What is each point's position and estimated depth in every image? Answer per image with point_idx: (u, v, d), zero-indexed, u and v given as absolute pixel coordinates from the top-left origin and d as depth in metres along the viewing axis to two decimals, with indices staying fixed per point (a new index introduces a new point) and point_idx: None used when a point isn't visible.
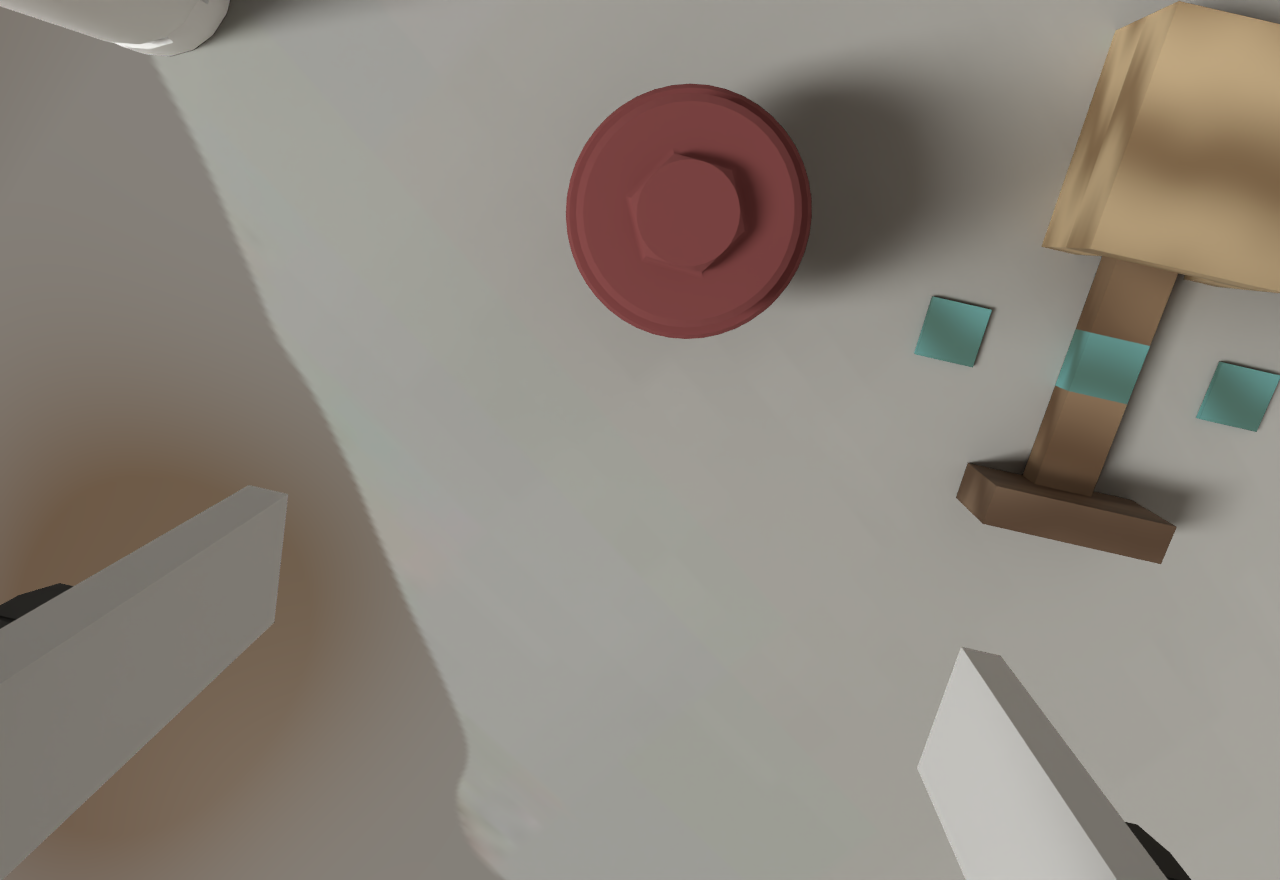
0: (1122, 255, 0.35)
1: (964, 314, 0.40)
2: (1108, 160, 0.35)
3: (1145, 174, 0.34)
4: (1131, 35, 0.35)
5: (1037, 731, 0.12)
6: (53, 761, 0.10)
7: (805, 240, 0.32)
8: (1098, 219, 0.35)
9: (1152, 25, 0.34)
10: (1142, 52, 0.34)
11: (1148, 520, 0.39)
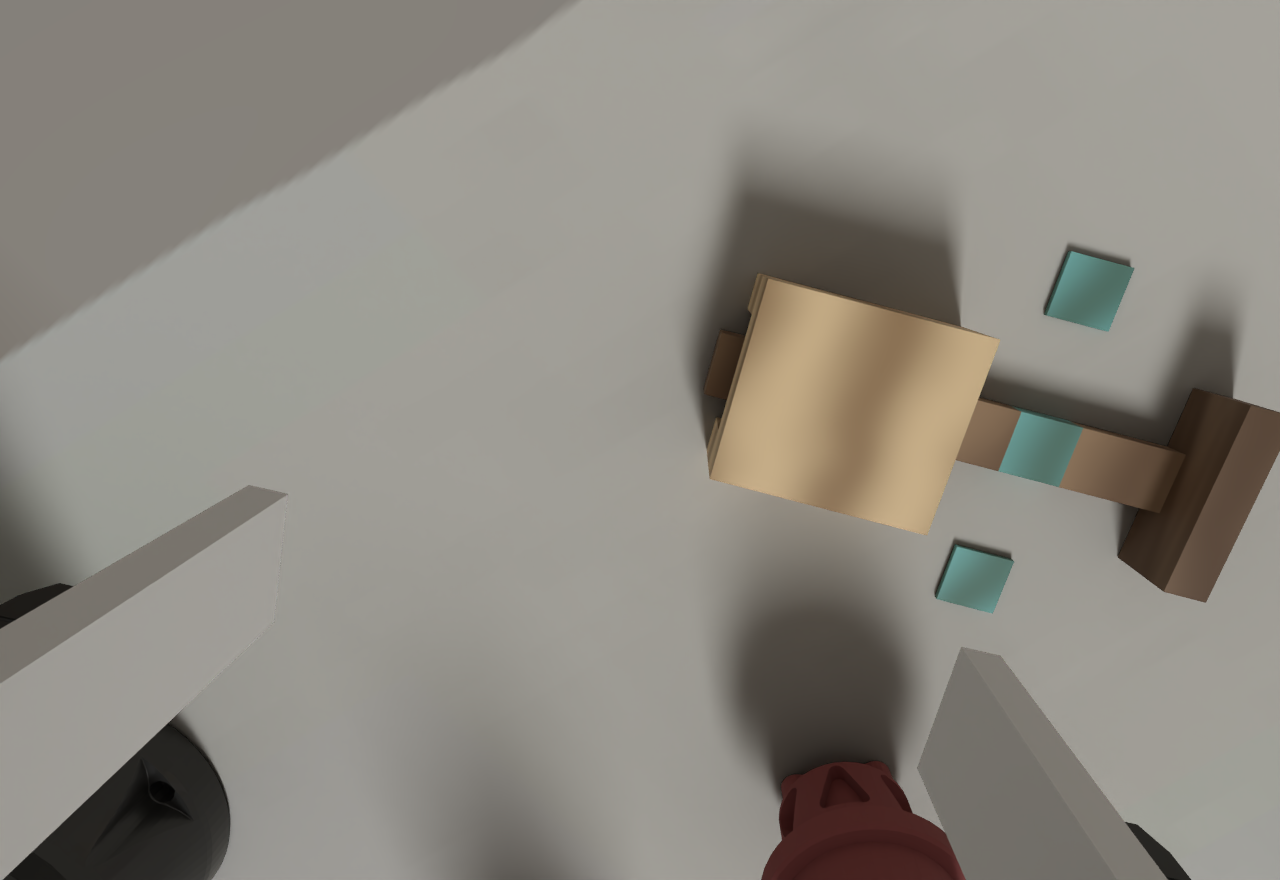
0: (937, 503, 0.35)
1: (958, 571, 0.41)
2: None
3: (861, 492, 0.35)
4: None
5: (1037, 731, 0.12)
6: (53, 761, 0.10)
7: (904, 830, 0.36)
8: None
9: None
10: None
11: (1236, 434, 0.35)
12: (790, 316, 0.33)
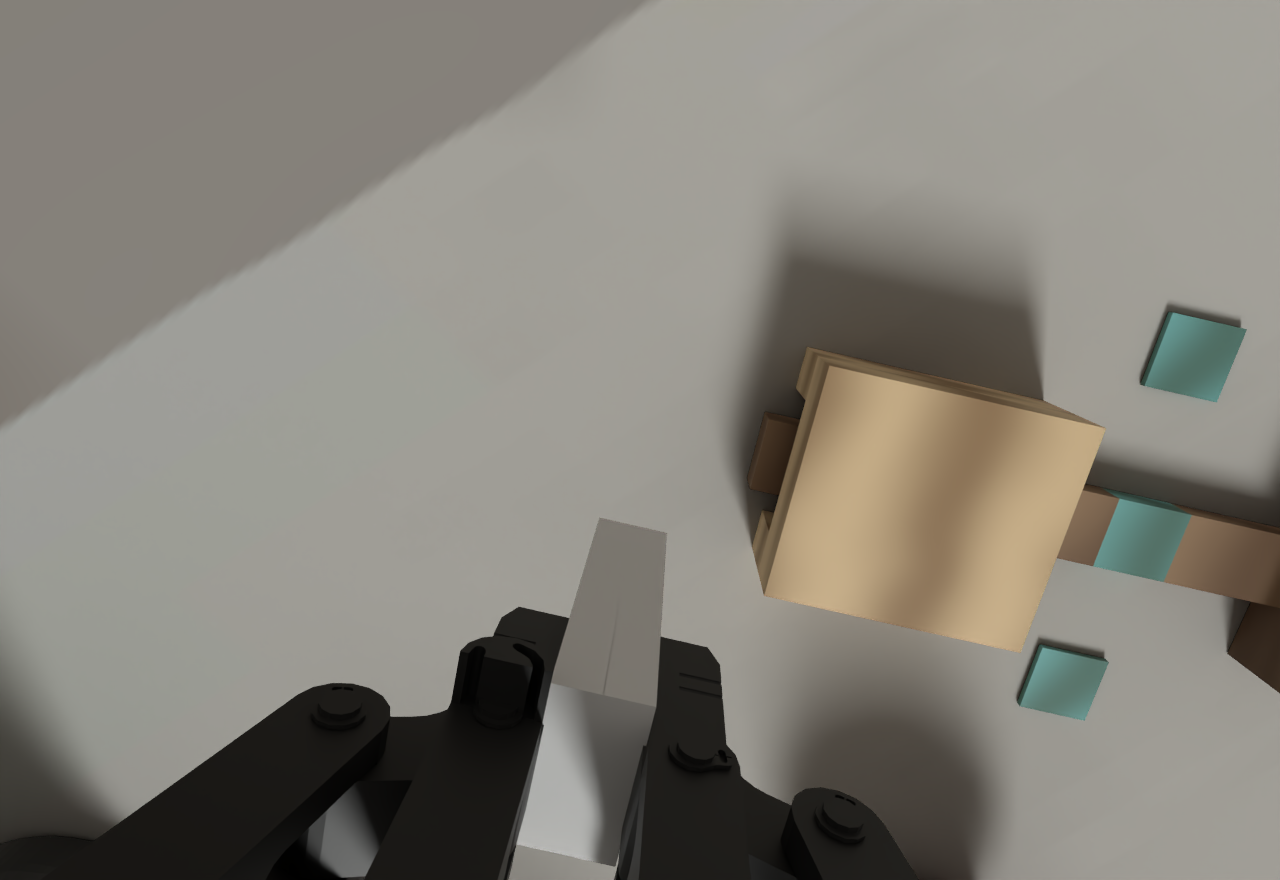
0: (1031, 616, 0.30)
1: (1044, 674, 0.35)
2: None
3: (943, 606, 0.30)
4: None
5: (643, 576, 0.15)
6: None
7: None
8: None
9: None
10: None
11: None
12: (857, 408, 0.28)
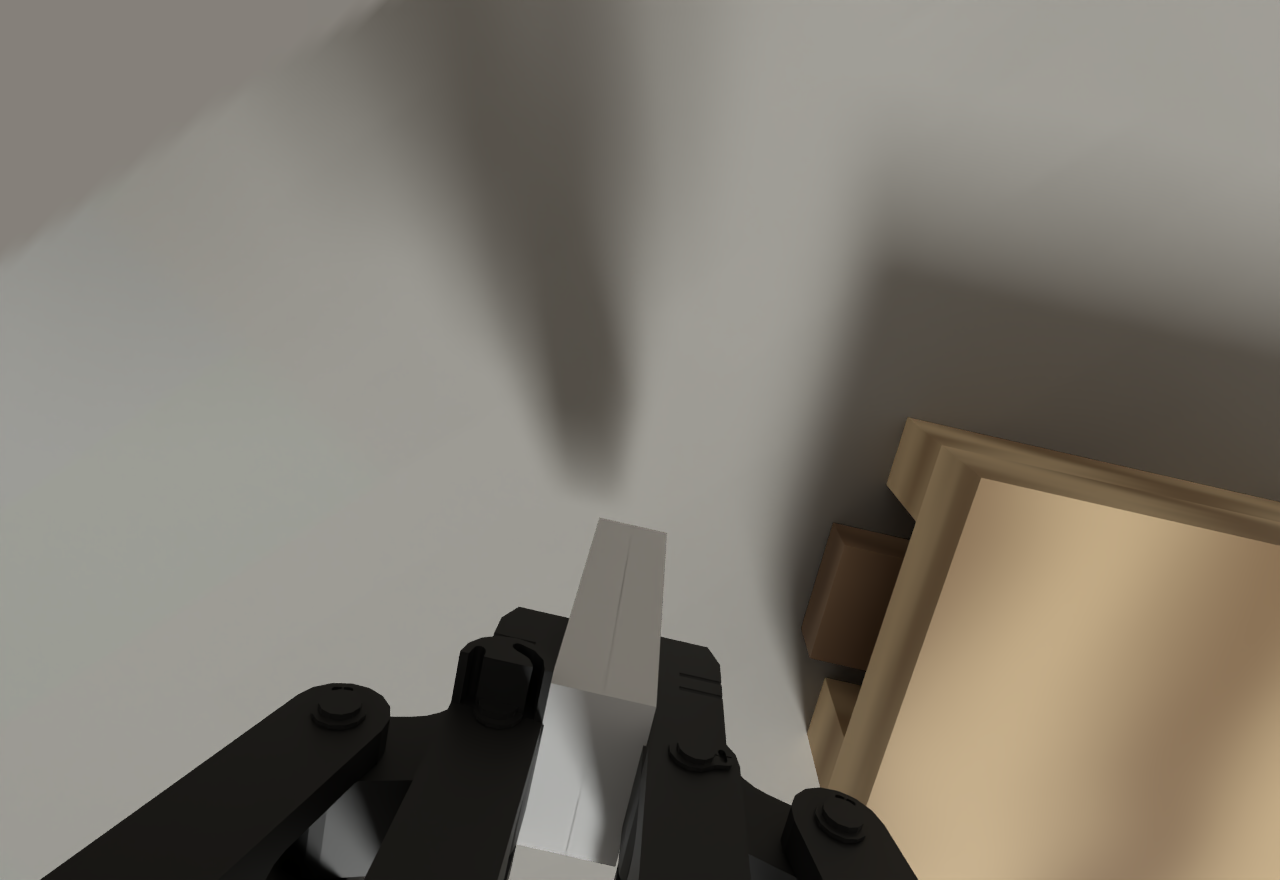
0: None
1: None
2: None
3: None
4: None
5: (643, 577, 0.15)
6: None
7: None
8: None
9: None
10: None
11: None
12: (1030, 556, 0.15)
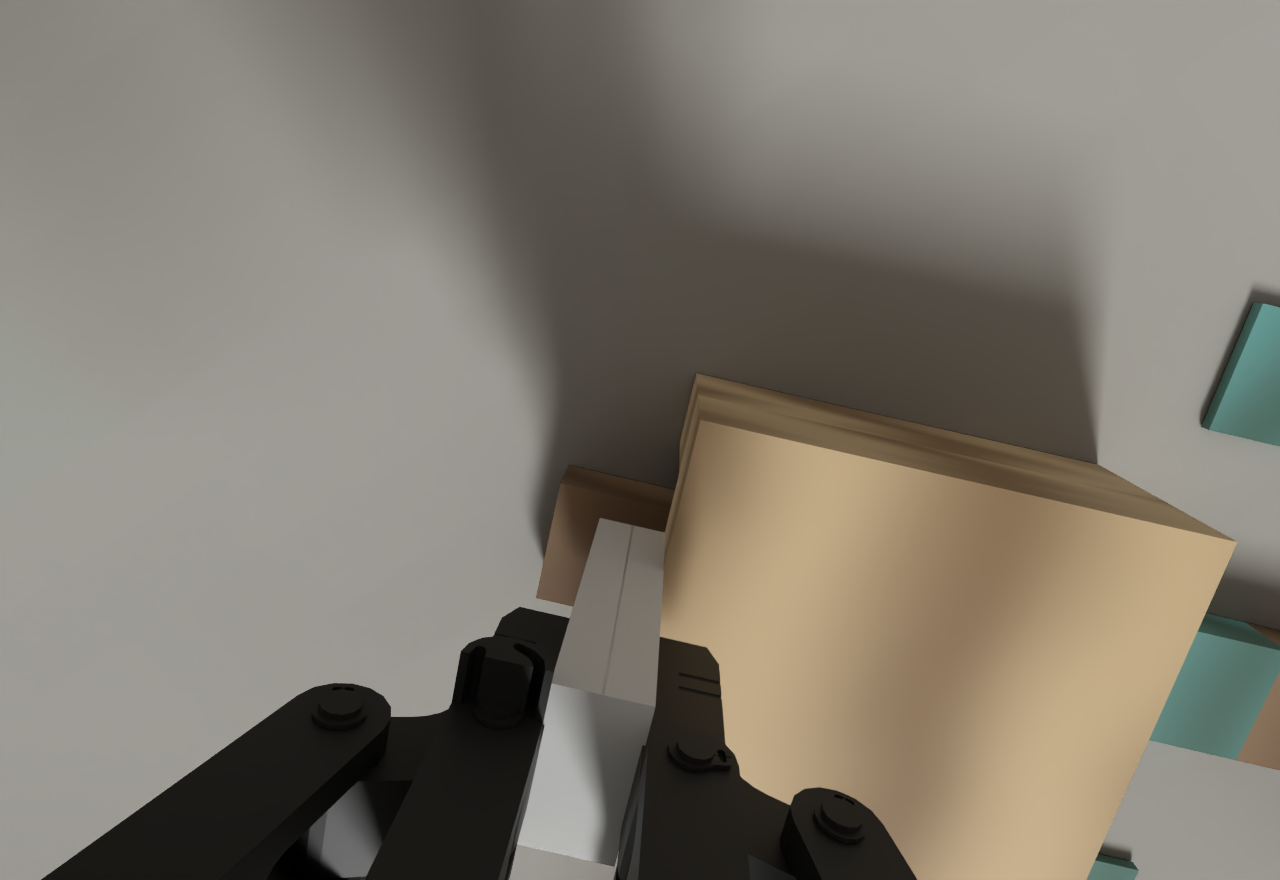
0: (1085, 869, 0.16)
1: None
2: None
3: (923, 851, 0.16)
4: None
5: (642, 576, 0.15)
6: None
7: None
8: None
9: None
10: None
11: None
12: (756, 500, 0.15)
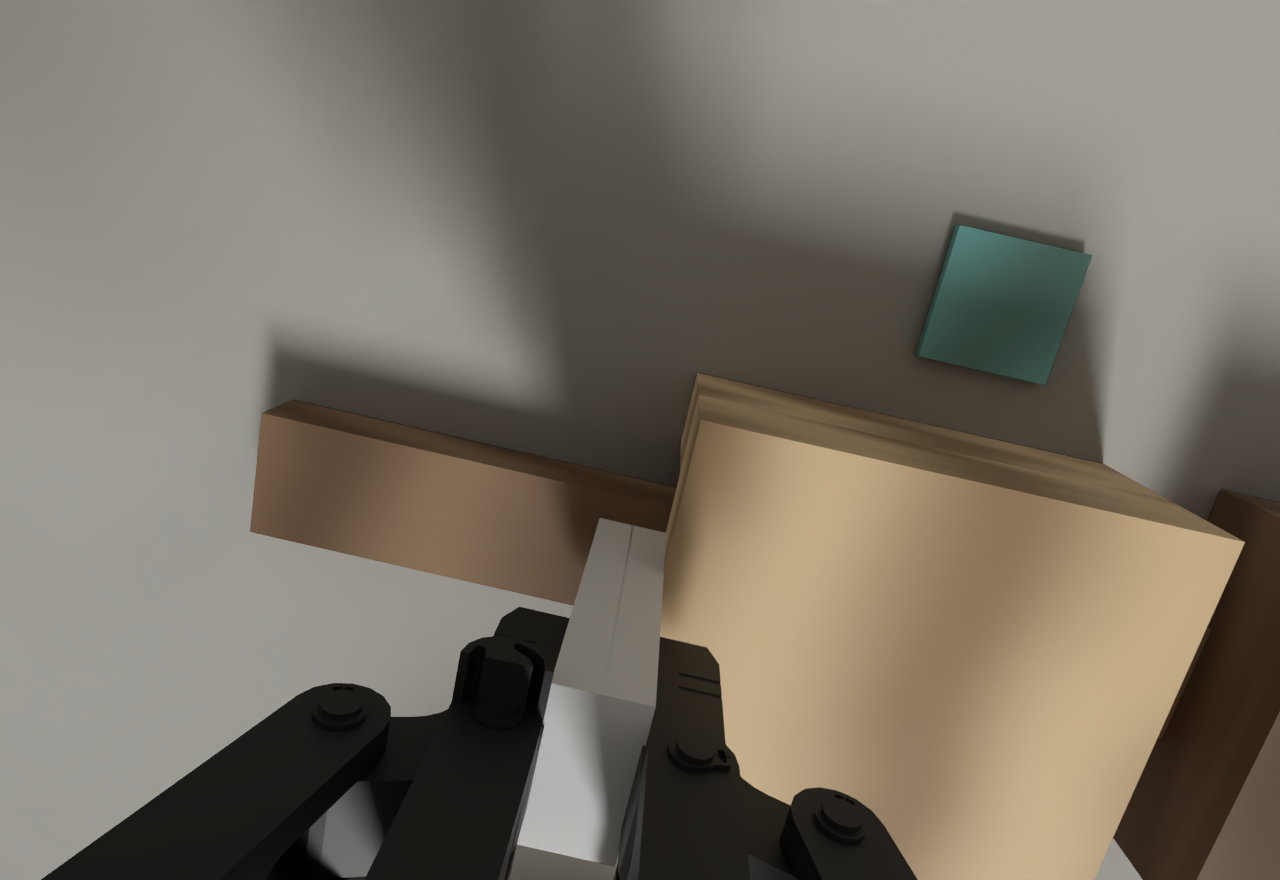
0: (1091, 873, 0.16)
1: None
2: None
3: (927, 854, 0.16)
4: None
5: (642, 576, 0.15)
6: None
7: None
8: None
9: None
10: None
11: None
12: (756, 501, 0.15)
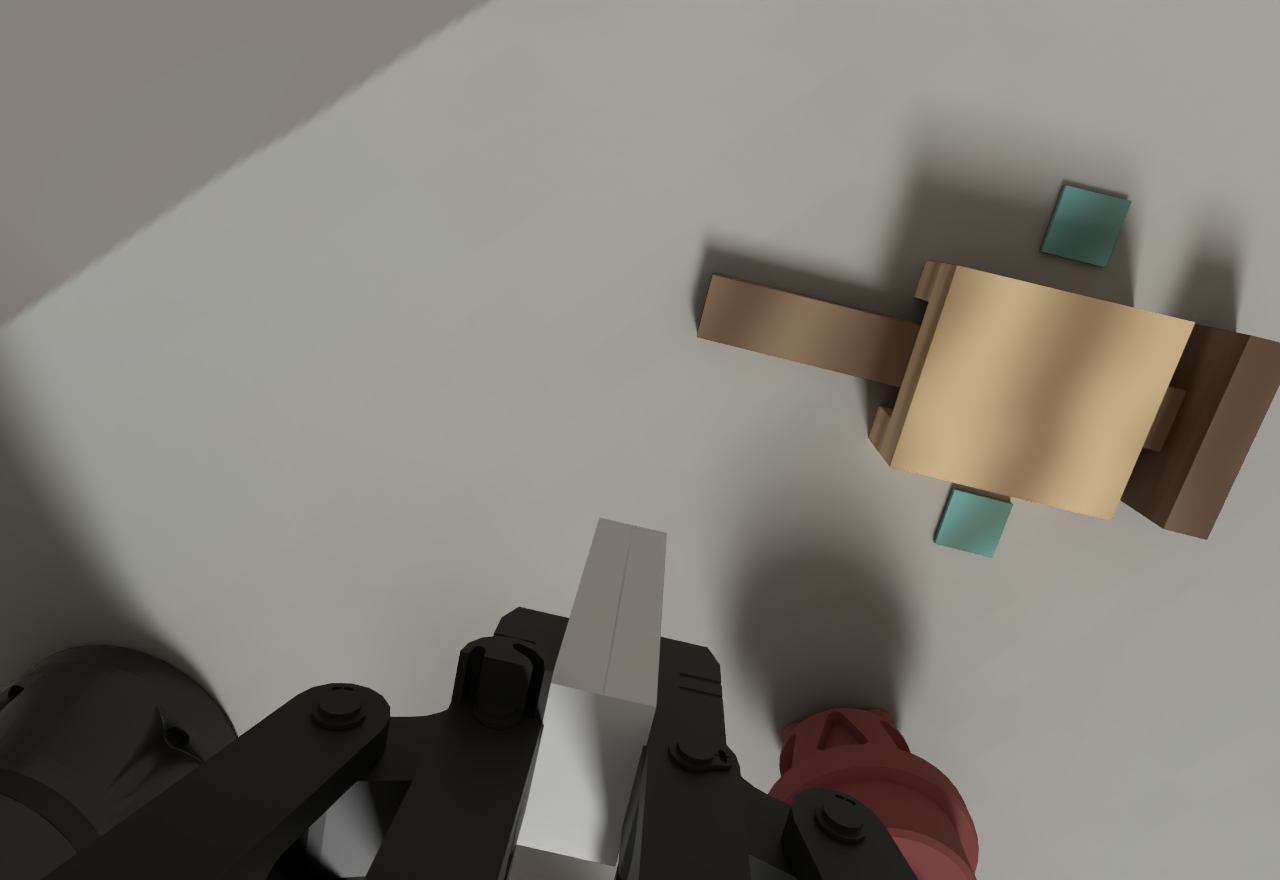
0: (1122, 489, 0.35)
1: (956, 515, 0.40)
2: None
3: (1045, 478, 0.35)
4: None
5: (643, 576, 0.15)
6: None
7: (899, 767, 0.36)
8: None
9: None
10: None
11: (1235, 365, 0.34)
12: (979, 302, 0.33)
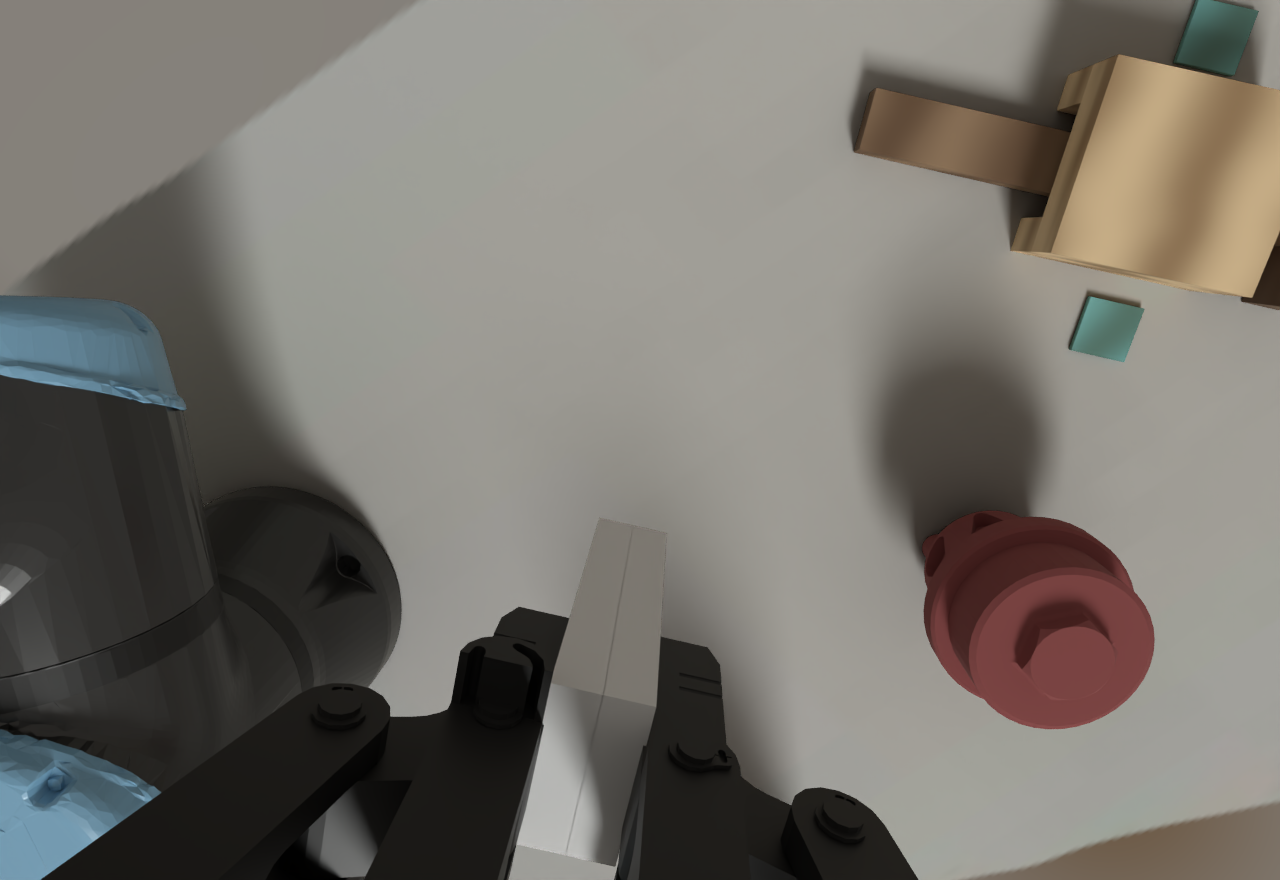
0: (1263, 266, 0.38)
1: (1091, 321, 0.44)
2: (1161, 279, 0.40)
3: (1193, 258, 0.38)
4: (1035, 253, 0.42)
5: (643, 577, 0.15)
6: None
7: (1065, 530, 0.39)
8: (1224, 292, 0.39)
9: (1048, 254, 0.40)
10: (1068, 259, 0.40)
11: None
12: (1137, 90, 0.37)
